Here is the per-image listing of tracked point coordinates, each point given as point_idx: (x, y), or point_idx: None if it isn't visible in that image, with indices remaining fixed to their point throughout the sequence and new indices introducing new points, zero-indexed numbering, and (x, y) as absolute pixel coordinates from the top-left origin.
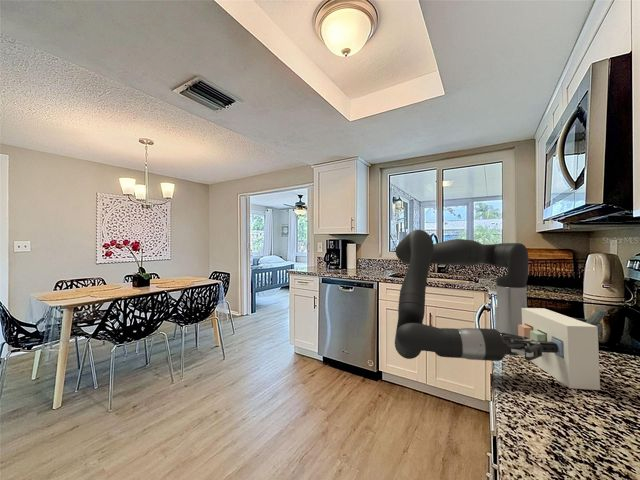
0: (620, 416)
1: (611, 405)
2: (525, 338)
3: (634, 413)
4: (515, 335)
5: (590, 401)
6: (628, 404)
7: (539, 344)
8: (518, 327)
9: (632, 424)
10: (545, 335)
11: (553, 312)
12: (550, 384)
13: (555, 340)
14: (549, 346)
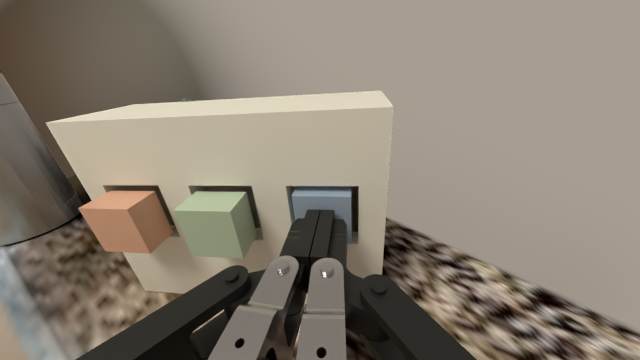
0: (524, 297)
1: (458, 277)
2: (241, 288)
3: (480, 260)
4: (160, 316)
5: (457, 311)
6: (433, 244)
7: (380, 281)
8: (88, 219)
9: (563, 300)
10: (246, 196)
11: (188, 102)
12: (359, 355)
13: (319, 197)
14: (345, 240)
